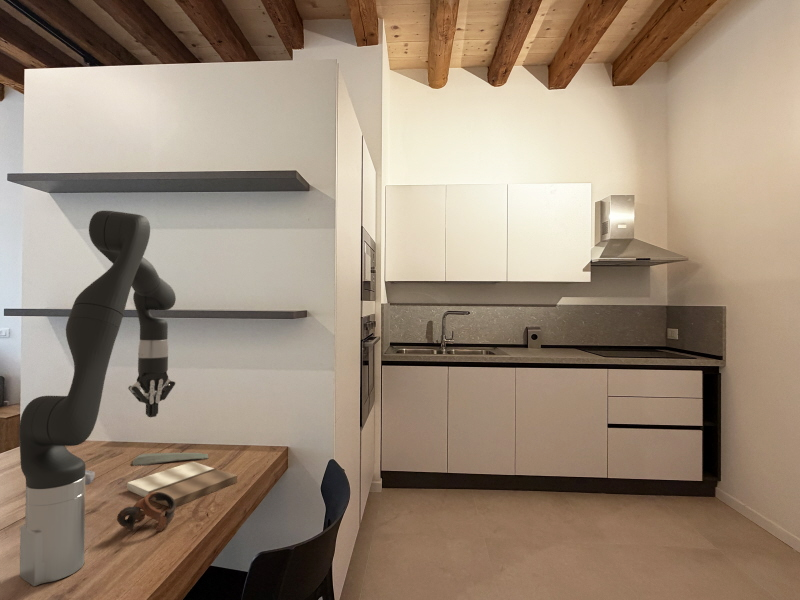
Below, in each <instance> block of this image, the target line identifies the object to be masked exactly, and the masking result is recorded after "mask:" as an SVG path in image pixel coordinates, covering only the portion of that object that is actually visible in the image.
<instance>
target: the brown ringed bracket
mask: <svg viewBox="0 0 800 600" xmlns="http://www.w3.org/2000/svg"><path fill="white" fill-rule="evenodd" d="M153 497H155V498H156V501H165V500H166V501H167V503H168V506H167V507H168V508H170V507H171V508H170V509H168V510H165V512H164V515H162V510H161V509H157V508H155V507H154V506H153V505H151V503H150V502H149V500H150V499H151V498H153ZM150 501H151V500H150ZM176 509H177V507H176V503H175V501H174V499H173V498H172V497H171V496H169V495H168V494H165V493H162V492H152V493H149V494H147V495H146V497H142V498H141V499H139V500H138V501H137V502H136V503H134V505H133V506H126V507H124V508H123V509H121V510H120V511H119V512H118V514H117V517H116V518H117V519H116V520H117V523H118V524H119V525H120V527H123V528H124V527H126V530H128V531H133V530H134V527H135V526H134V525H135V524H136V521H140V520H141V521H142V520H145V518H146V516H147V517H148V518H152V520H155V521H157V525H156V527H155V531H156V532H162V531H163V530H164V529H165V527H166V526H168V525H169V524H170V523H171V521H172V520H173V519H174V517H175V511H176ZM126 517H127V518H126Z"/></svg>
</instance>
